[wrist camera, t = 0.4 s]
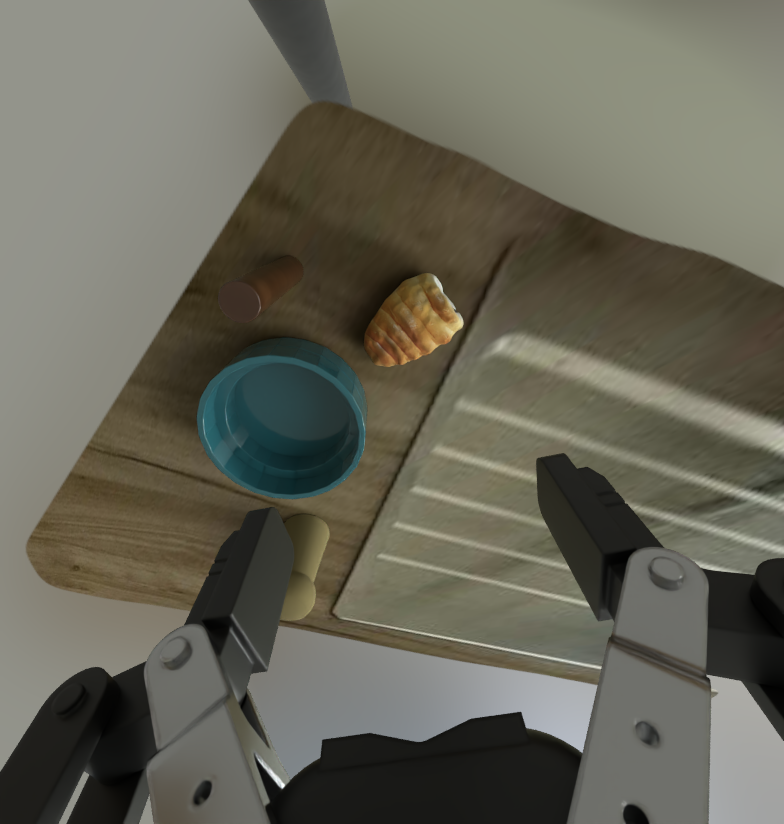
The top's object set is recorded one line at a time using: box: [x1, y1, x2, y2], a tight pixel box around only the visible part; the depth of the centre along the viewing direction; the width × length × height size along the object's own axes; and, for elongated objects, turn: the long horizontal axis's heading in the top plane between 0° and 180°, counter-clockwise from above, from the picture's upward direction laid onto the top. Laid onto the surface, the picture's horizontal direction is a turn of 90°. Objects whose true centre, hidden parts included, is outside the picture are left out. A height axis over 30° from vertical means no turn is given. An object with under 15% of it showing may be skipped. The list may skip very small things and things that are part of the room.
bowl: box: [197, 337, 367, 499], centre depth 38 cm, size 15×15×6 cm
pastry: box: [364, 273, 463, 367], centre depth 35 cm, size 9×7×4 cm
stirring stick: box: [218, 256, 303, 323], centre depth 28 cm, size 2×2×14 cm
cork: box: [280, 514, 330, 621], centre depth 44 cm, size 6×6×11 cm
